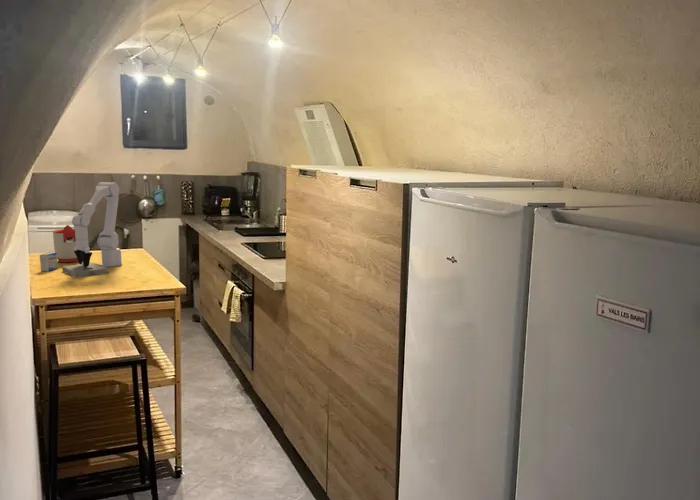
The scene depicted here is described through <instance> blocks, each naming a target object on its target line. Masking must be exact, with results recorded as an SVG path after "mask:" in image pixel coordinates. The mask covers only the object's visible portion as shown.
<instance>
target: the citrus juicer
mask: <svg viewBox="0 0 700 500" xmlns="http://www.w3.org/2000/svg"><path fill="white" fill-rule="evenodd" d="M52 235H53V236H52V237H53V247H54V252H56V253H57V262H60V263H63V264H67V263H78V259H77V256H76V254H75V253H74V251H77V249H76V250H75V249H74V248H76V233H75V229H74V228H72V227H71V226H70V225H68V224H66V225H65V227H64V228H62V229H55V230H52Z"/></svg>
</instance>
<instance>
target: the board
mask: <svg viewBox="0 0 700 500" xmlns="http://www.w3.org/2000/svg"><path fill="white" fill-rule="evenodd" d="M99 264H100V263H96V262H89V266H88V267H83V266H82V264H79V263H78V264H71V265H63V266H62V269H61V270H62V272H63V273H66V274H68V275H70V276H72V277H74V278H83V277H89V276H96V275H97V276H99V275H103V274H109V268H108V267H104V266H101V265H99Z"/></svg>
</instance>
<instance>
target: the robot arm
mask: <svg viewBox="0 0 700 500" xmlns="http://www.w3.org/2000/svg"><path fill="white" fill-rule="evenodd" d="M119 194H120V187H119V185H118V184H117V183H116V182H115V181H114V182H113V181H112V182H106V181H105V182H104V181H100V182H98V183H97V185H96V186H95V191H94V193H93V195H92V197H91V198H90V200H89V202H87V203H84V204H83V206H82V208H81V209H80V211H79V212H78V213H77V214H75V215H74V216H73V217H72V220H71V224H72V225H73V229H75V233H76V248H74V249H75V250H76V249H77V251H74V253H75V254H76V256H77V259H78V262H77V263H78V264H82V261H83V264H84V266H89V263H91V257H92V255H93V252H91V250H90V246H89V233H88V232H89V231H88V226H89V225H90V223H91V222H90V221H91V217H92V216H93V214H95V212H96V207H97V204H99V202H100V201H101V200H102V199H103V198H104V199H105V200H106V203H107V204H106V208H105V209H106V210H105V216H104V225H103V230H102V231H100V233H99V235H98V238H97V241H96V243H97V246H98V247H99V249H100V250H101V251H100V253H101V263H98V264H99V265H101V266H104V267H106V268H108V267H114V266H115V267H116V266H122V265H123V264H122V253H121V248H119V247H118V246H119V243H120V242H119V234H117V232H116V231H115V229H116V223H117V222H116V221H117V216H118V215H117V214H118V206H119V199H120V198H119V196H120V195H119Z"/></svg>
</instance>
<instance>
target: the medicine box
mask: <svg viewBox="0 0 700 500" xmlns="http://www.w3.org/2000/svg"><path fill="white" fill-rule="evenodd" d="M39 260H40V261H39V263H40V271H41V272H51V270H52V271H54V270H57V269H58V268H59V265H58V264H59V263H58V259H57V253H56V252H55V251H52V252H45V253H43V254H39Z"/></svg>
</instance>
